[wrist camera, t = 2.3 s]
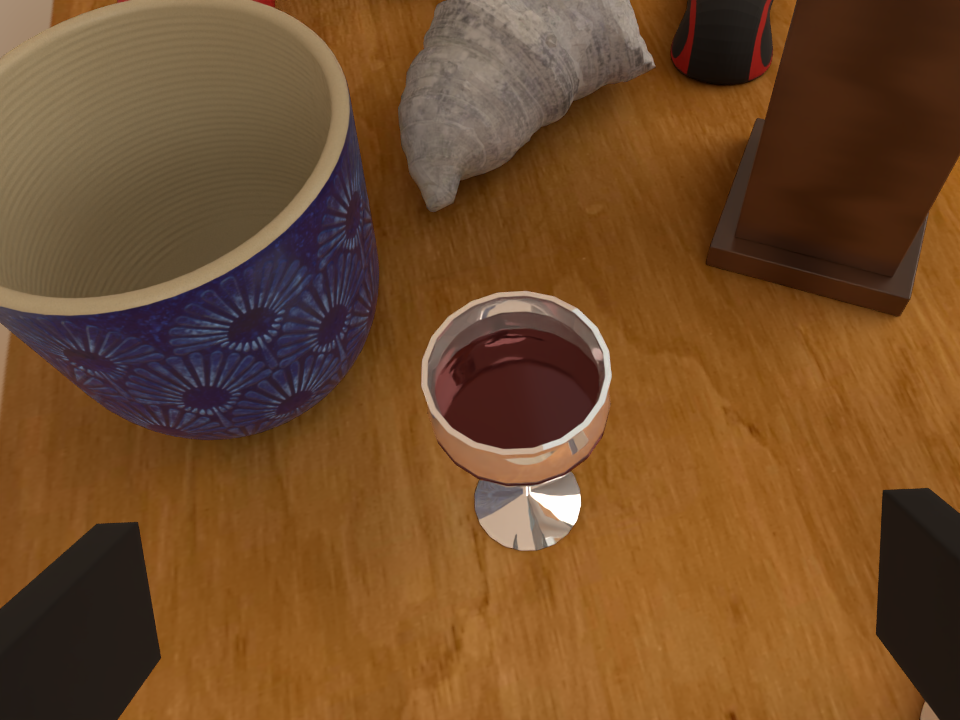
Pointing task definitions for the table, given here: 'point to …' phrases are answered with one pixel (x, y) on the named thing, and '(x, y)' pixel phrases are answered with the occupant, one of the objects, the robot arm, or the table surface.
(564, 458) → the wineglass
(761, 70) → the computer mouse
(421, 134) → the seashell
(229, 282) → the planter
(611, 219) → the table surface
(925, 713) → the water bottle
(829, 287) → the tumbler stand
